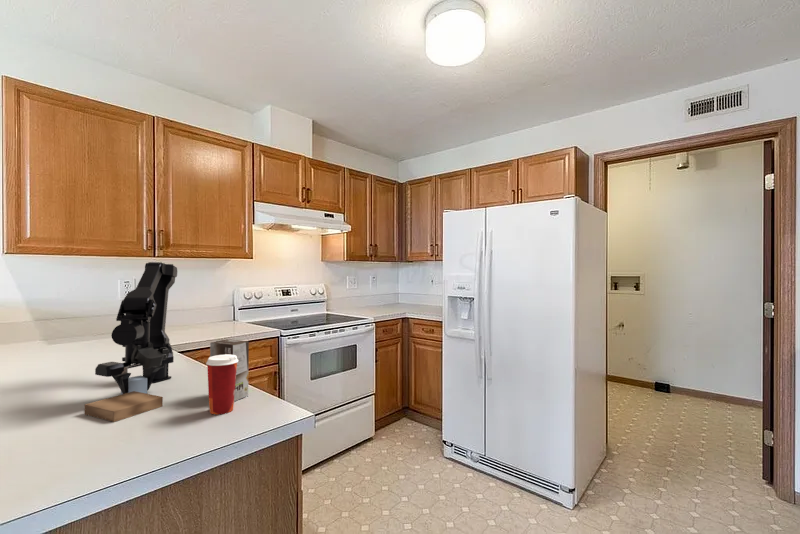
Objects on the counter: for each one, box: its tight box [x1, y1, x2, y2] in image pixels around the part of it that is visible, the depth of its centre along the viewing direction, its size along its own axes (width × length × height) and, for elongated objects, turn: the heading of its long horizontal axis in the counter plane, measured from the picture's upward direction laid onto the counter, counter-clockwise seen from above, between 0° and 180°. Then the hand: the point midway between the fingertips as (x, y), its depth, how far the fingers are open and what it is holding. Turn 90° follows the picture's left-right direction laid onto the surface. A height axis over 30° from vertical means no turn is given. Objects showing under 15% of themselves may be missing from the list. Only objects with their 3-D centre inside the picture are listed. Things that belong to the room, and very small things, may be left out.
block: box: [120, 375, 148, 395], centre depth 110 cm, size 5×5×5 cm
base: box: [83, 391, 164, 423], centre depth 99 cm, size 12×12×2 cm
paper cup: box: [205, 354, 238, 416], centre depth 99 cm, size 8×8×14 cm
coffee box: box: [209, 339, 250, 402], centre depth 110 cm, size 9×6×16 cm
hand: (136, 393), depth 109 cm, fingers closed on block, 5 cm apart
